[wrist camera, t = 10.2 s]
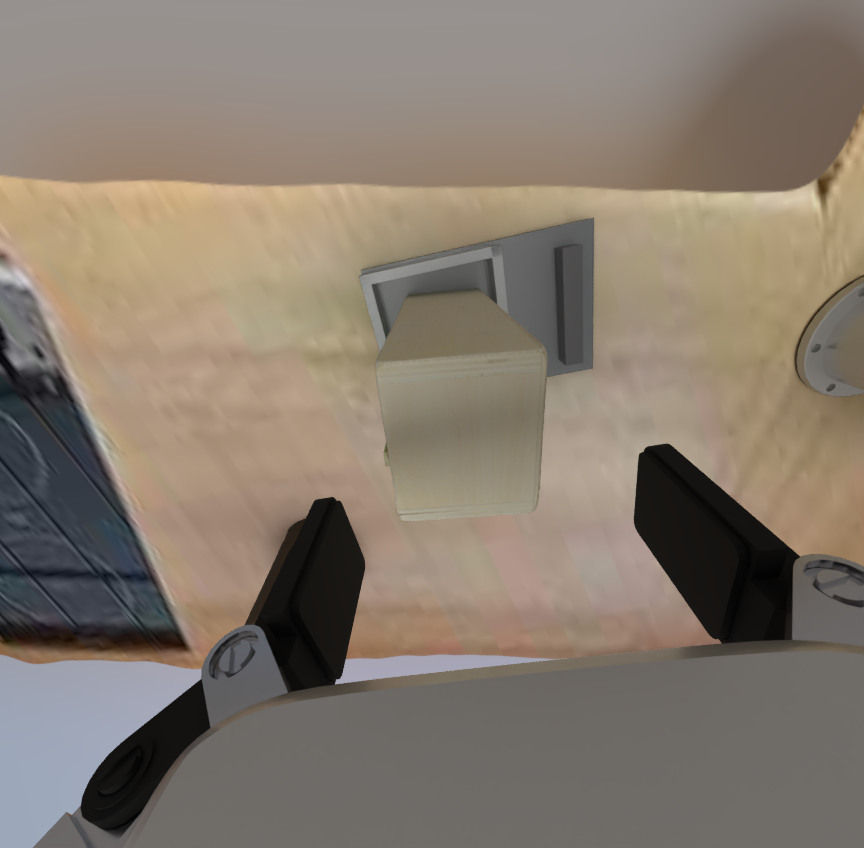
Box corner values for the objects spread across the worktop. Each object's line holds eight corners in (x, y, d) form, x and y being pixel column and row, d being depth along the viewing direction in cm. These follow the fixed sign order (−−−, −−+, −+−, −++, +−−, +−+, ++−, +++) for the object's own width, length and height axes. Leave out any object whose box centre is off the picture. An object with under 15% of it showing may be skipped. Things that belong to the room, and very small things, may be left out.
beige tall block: (397, 292, 32) (354, 364, 13) (479, 285, 31) (555, 348, 13) (407, 376, 35) (385, 527, 17) (480, 370, 35) (541, 517, 16)
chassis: (588, 218, 30) (607, 216, 27) (587, 364, 36) (603, 376, 33) (362, 269, 32) (355, 272, 29) (398, 401, 38) (395, 416, 34)
